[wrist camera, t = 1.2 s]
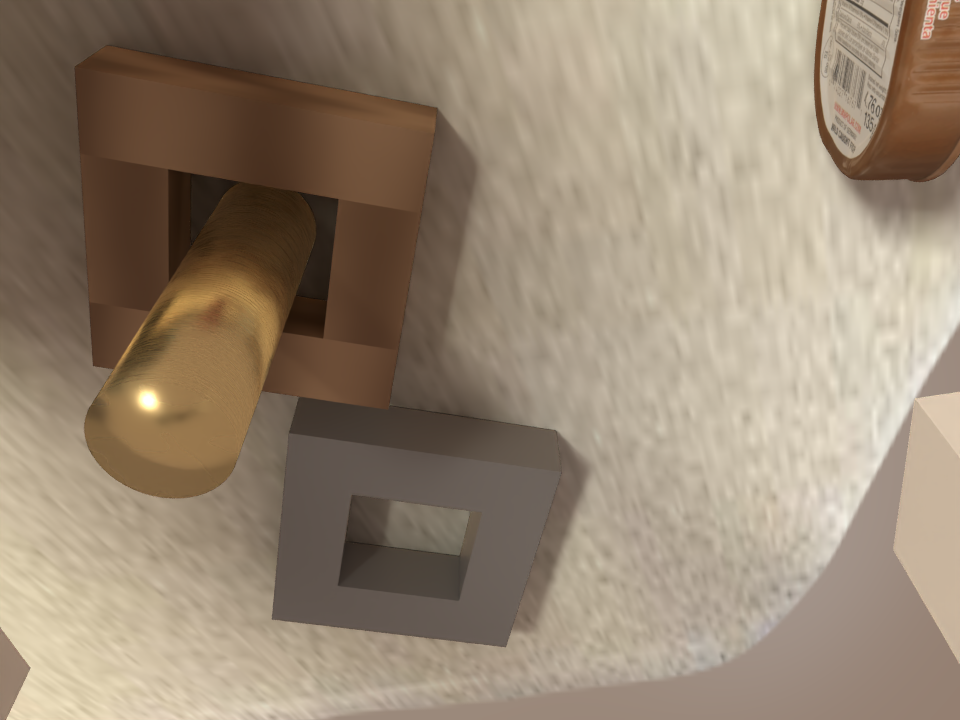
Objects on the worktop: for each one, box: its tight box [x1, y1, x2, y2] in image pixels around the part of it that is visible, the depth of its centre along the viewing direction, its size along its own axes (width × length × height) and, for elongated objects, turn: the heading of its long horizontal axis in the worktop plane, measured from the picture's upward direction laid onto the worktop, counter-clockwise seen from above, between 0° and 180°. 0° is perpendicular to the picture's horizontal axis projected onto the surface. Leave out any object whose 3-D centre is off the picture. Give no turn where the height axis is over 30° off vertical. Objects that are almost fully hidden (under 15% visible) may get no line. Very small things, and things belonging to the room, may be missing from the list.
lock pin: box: [84, 182, 316, 498], centre depth 29 cm, size 4×4×14 cm
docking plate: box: [272, 397, 562, 647], centre depth 42 cm, size 12×12×3 cm
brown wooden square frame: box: [75, 45, 437, 410], centre depth 33 cm, size 12×12×3 cm
